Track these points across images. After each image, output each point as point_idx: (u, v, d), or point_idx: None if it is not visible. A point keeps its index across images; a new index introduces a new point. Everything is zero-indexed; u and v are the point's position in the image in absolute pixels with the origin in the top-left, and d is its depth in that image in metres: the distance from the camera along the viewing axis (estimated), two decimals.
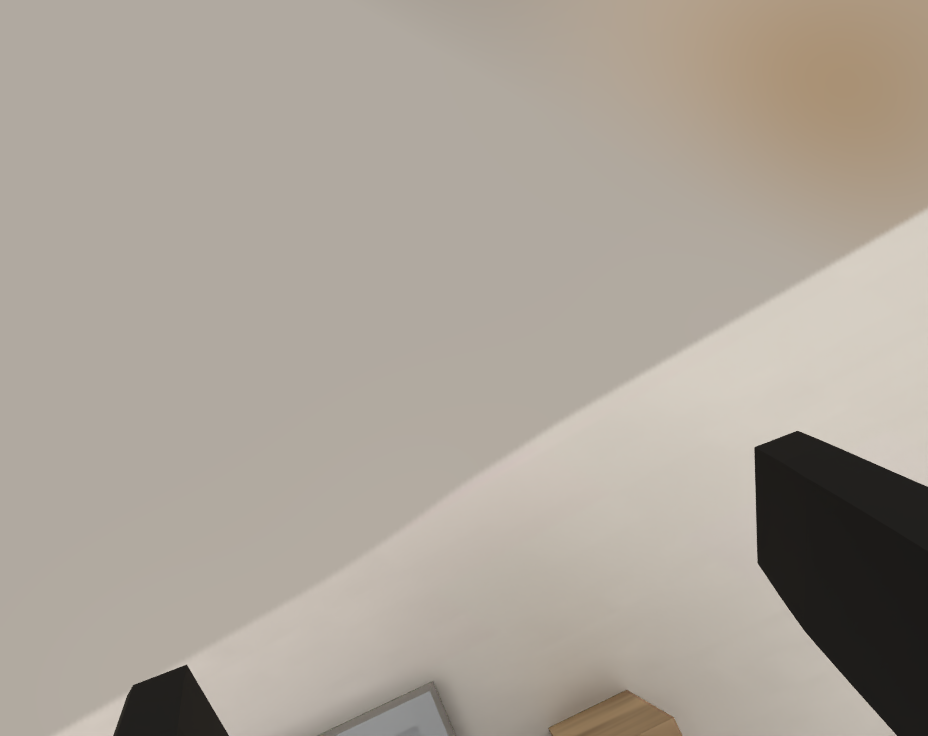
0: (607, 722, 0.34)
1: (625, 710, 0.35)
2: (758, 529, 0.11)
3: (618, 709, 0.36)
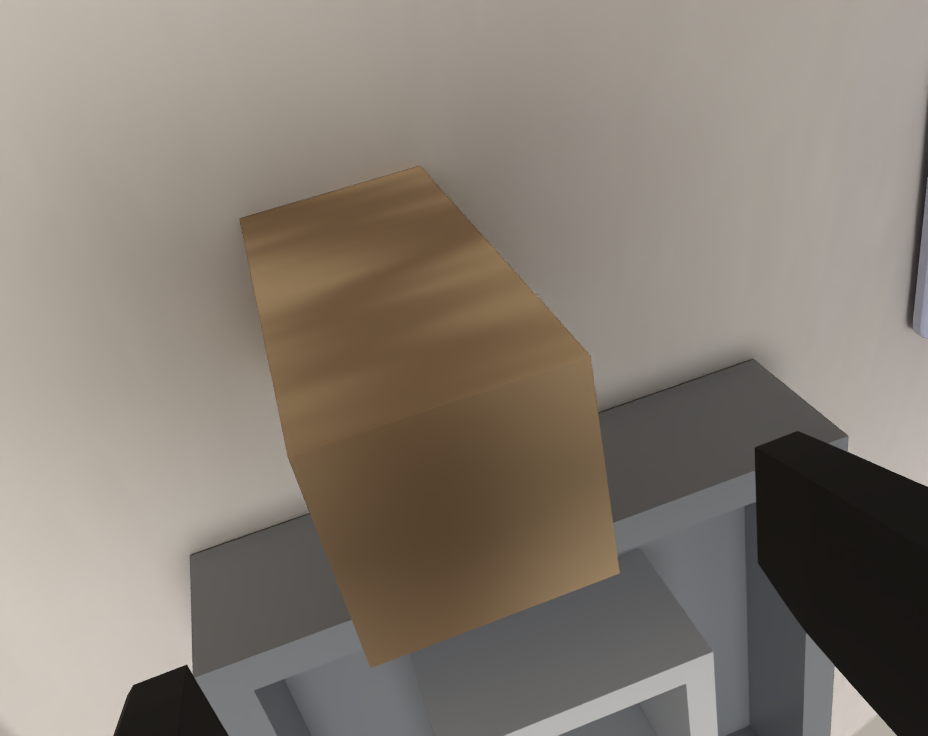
0: None
1: None
2: (758, 528, 0.11)
3: None
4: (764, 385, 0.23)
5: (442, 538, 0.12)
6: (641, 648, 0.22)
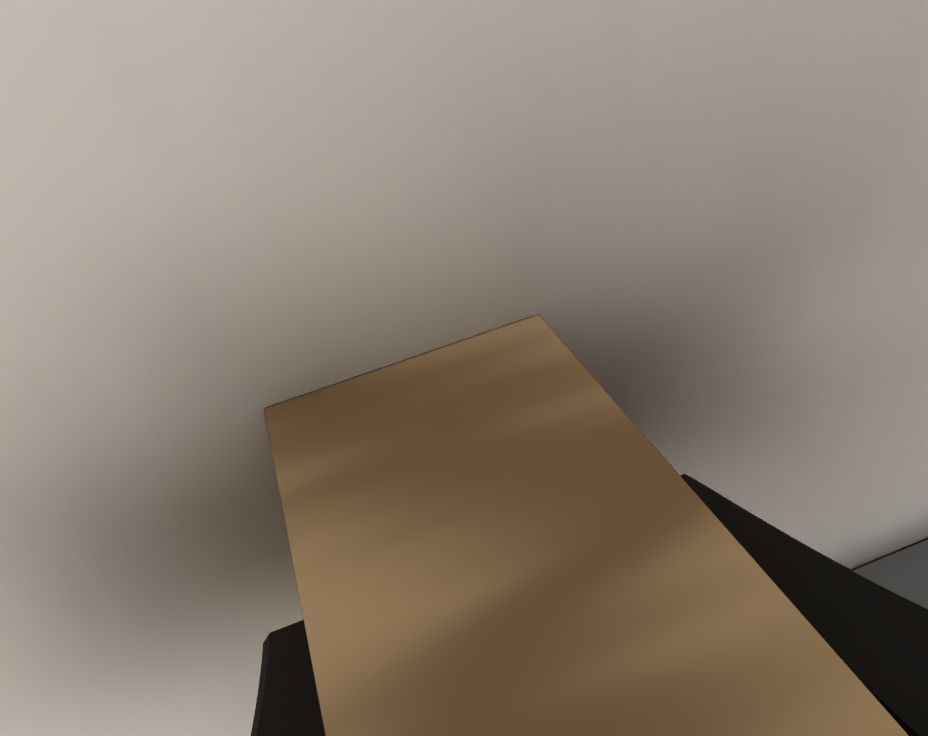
0: None
1: None
2: None
3: None
4: None
5: None
6: None
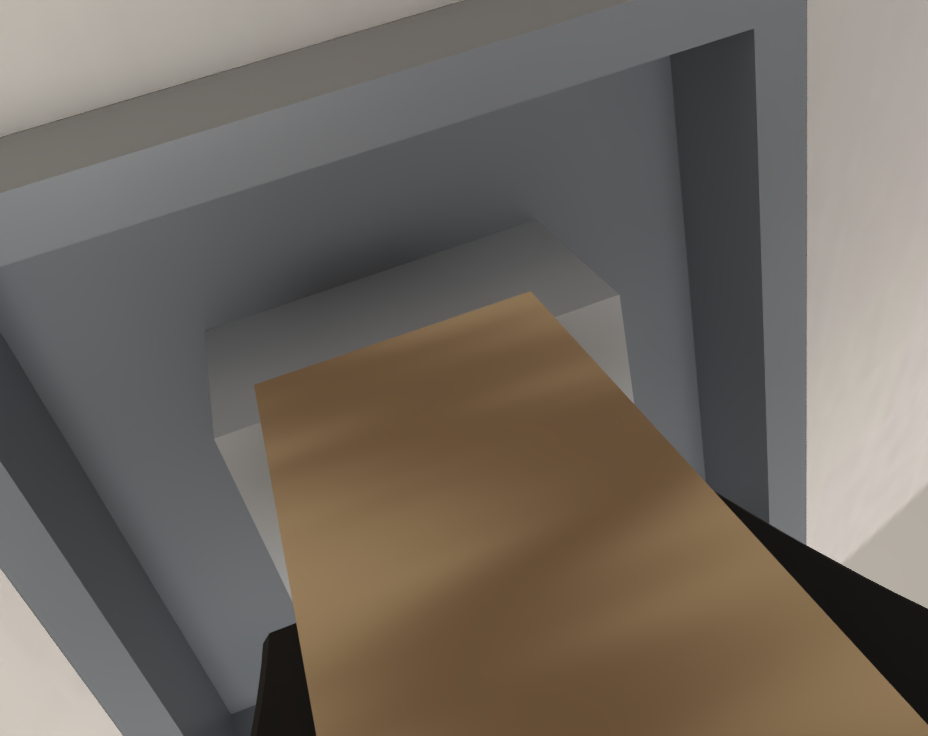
0: None
1: None
2: None
3: None
4: None
5: None
6: None
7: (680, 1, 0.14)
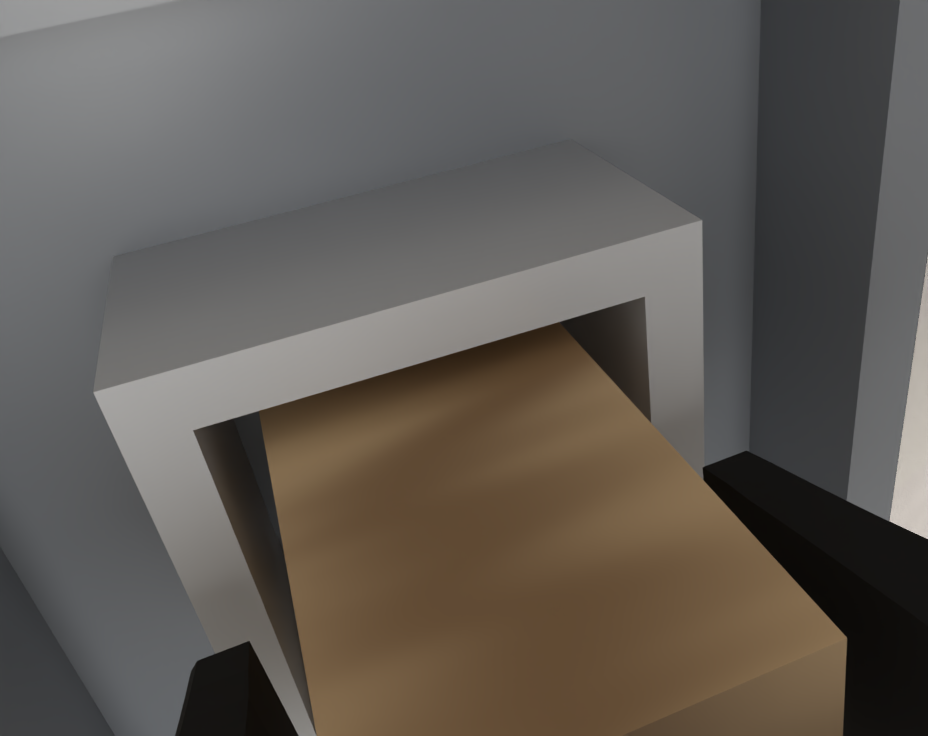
0: None
1: None
2: None
3: None
4: None
5: None
6: (556, 229, 0.11)
7: None
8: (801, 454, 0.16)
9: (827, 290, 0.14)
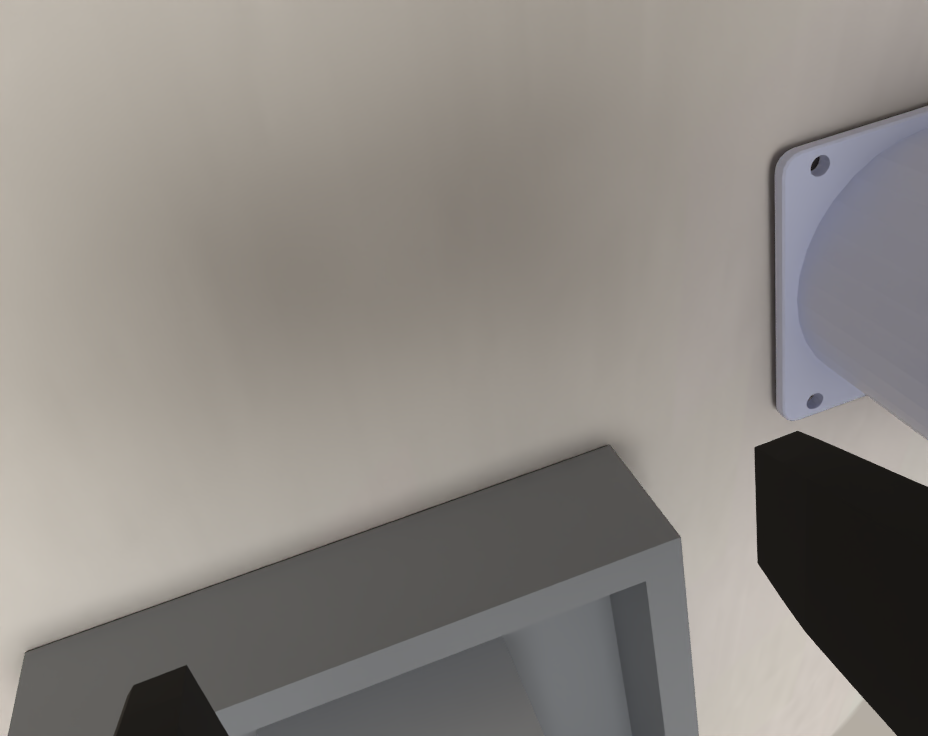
0: None
1: None
2: (757, 528, 0.11)
3: None
4: (613, 475, 0.22)
5: None
6: None
7: (592, 577, 0.20)
8: None
9: (650, 708, 0.25)
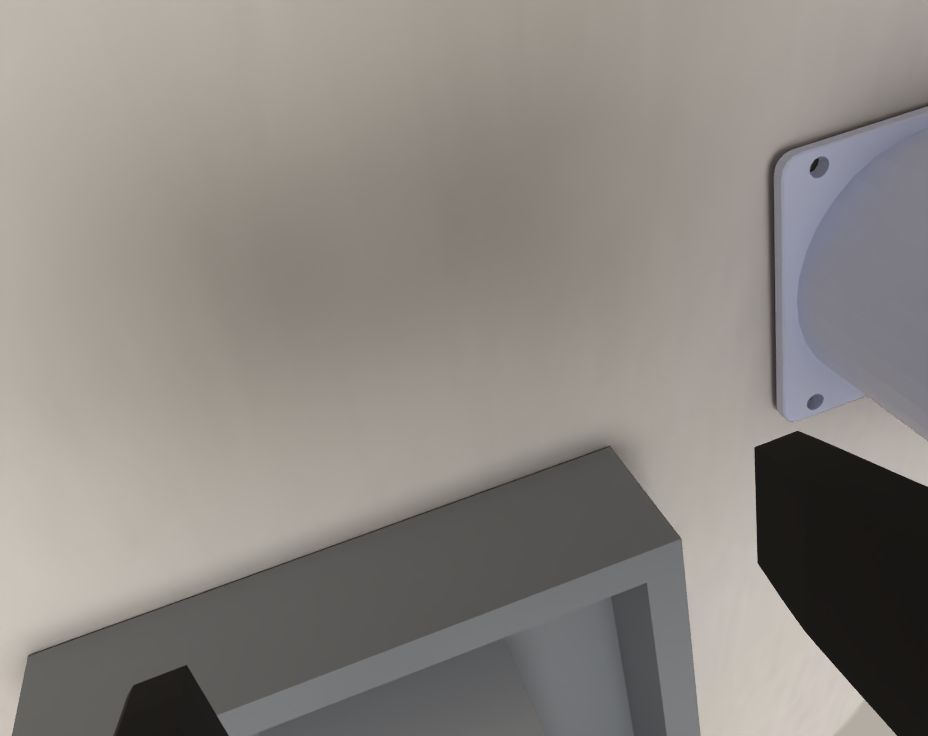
0: None
1: None
2: (758, 528, 0.11)
3: None
4: (614, 477, 0.22)
5: None
6: None
7: (592, 579, 0.20)
8: None
9: (651, 709, 0.25)
